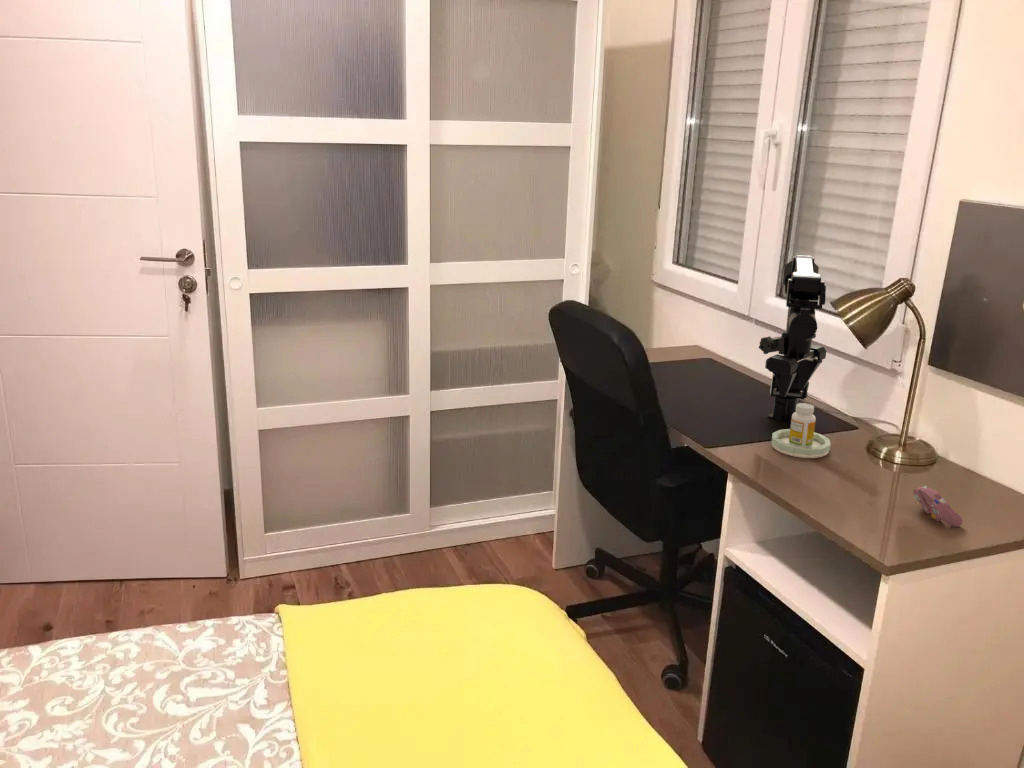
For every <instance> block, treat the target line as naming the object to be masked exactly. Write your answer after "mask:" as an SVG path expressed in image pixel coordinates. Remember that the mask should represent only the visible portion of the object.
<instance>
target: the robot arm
mask: <svg viewBox="0 0 1024 768" xmlns="http://www.w3.org/2000/svg"><path fill="white" fill-rule="evenodd" d="M781 278H782V279H781V286H783V294H784V296H785V298H786V303H785V304H786V305H785V306H786V307H787V316H786V317H787V318H786V325H785V326H786V327H785V328H786V329H785V331H783V332H782V333H781V336H774V337H771V336H770V335H769V336H763V337H761V338H760V341H759V345H758V349H759V350H760V351H762V353H763V355H768V354H769V353H776V352H777V354H774V355H772V356H769V357H768V358H767V359H765V367H764V369H767V370H768V372H770V373H772V377H771V383H770V391H769V394H770V395H769V396H770V397H774V403H773V410H772V411H773V412H772V413H770V414H768V415H766V417H767V418H769V419H772V420H777V421H780V422H784V423H787V424H791V419H792V414H793V413H795V412H797V411H796V405H797V404H799V400H805V399H807V398H808V390H809V386H810V382H809V381H810V379H811V378H812V376H813V375H814V374H815V372H816V371H817V369H818V368H819V367H820V365H821V364H822V363H823V360H824V359H826V357H827V350H826V348H825V347H824V346H822V345H818V344H814V343H813V344H812V342H813V339H815V338H816V337H817V330H818V323H817V319H816V311H817V310H823V305H825V304H826V294H827V286H826V284H825V281H824V280H822V275H820V274H819V266H818V265H817V264H816V263H815V257H814V256H812V255H803V254H801V255H799V254H797V255H793V257H792V260H791V261H788V262H787V263H786V264H784V266H783V271H782V277H781ZM816 309H817V310H816Z"/></svg>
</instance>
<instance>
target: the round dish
mask: <svg viewBox="0 0 1024 768" xmlns="http://www.w3.org/2000/svg"><path fill="white" fill-rule="evenodd" d="M789 436H790V428H786V429H778V430H776V431H775V432H772V436H771V447H772V448H773V449H774V450H776V451H777V452H779V453H780V454H784V455H787V456H790V457H795V458H801V459H816V458H818V459H819V458H822V457H825V456H827V455H829V453H830V451H831V440H830V438H828V437H826V436H825V435H823V434H821V433H818V432H815V431H814V437H813V444H812V446H811V447H808V448H807V447H798V446H793V445H791V444H790V443H789Z"/></svg>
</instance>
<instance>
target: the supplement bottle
mask: <svg viewBox="0 0 1024 768" xmlns="http://www.w3.org/2000/svg"><path fill="white" fill-rule="evenodd" d="M796 411H797V412H795V413H793V414H792V419H791V423H790V428H789V429H790V436H789V443H790V444H791V445H793V446H798V447H807V448H808V447H811V446H812V444H813V437H814V432H815V429H816V428H815V427H816V420H817V418H816V416H815V415H814V411H815V406H814V405H812V404H811V403H805V402H798V404H797V405H796Z"/></svg>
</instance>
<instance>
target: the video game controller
mask: <svg viewBox="0 0 1024 768" xmlns="http://www.w3.org/2000/svg"><path fill="white" fill-rule="evenodd" d="M912 491H913V494H914V495H913V499H914V500H915V501H916V502H919V504H920V505H921V507H922V508H923V511H924V512H925V513H926V514H927V515H930V514H931V517H932V519H933V520H934V521H935V522H940V521H944V522H945V523H946V524H947V525H950V526H952V527H954V528H958V527H959V528H960V527H961V526H962V525H963V519H962V516H961V515H960V514H958V513H957V512H956V511H955V510H954V509H953V508H952V507H951V506H950V504H949V502H947V501H946V499H945V498H944V497H943V496H942V494H941V493H940V492H939V491H938V490H936V489H934V488H930V487H928V486H927V485H926V484H925V485H924V486H920V487H919V486H918V487H917V488H914V489H913V490H912Z"/></svg>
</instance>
